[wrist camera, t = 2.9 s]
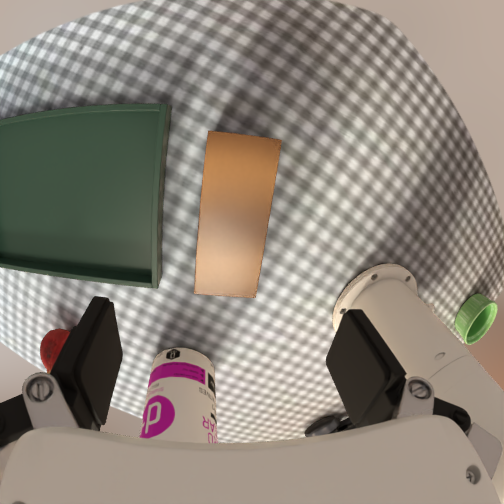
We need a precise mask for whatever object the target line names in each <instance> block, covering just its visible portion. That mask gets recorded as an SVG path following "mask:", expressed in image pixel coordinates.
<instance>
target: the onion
mask: <svg viewBox="0 0 504 504" xmlns="http://www.w3.org/2000/svg"><path fill="white" fill-rule="evenodd" d="M69 334H70V332H69V331H67V330H64V329H55V330H51V331H49V332H48V333H47V334H46V335H45V337H44V338H43V340H42V342H41V346H40V356H41V360H42V362H43V364H44V366H45V368H46V369H47V373H48V374H49V373H50V371H51V369H52V367H53V365H54V363H55V361H56V359H57V357H58V355H59V353H60V351H61V349H62V347H63V345H64V343H65V341H66V339H67V337H68V336H69Z"/></svg>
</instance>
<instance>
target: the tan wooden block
mask: <svg viewBox="0 0 504 504" xmlns="http://www.w3.org/2000/svg"><path fill="white" fill-rule="evenodd" d="M281 142H282V140H279V139H273V138H267V137H260V136H253V135H245V134H237V133H228V132H219V131H208V137H207V145H206V153H205V162H204V171H203V180H202V190H201V201H200V212H199V224H198V237H197V252H196V268H195V287H194V294H202V295H215V296H230V297H246V298H256V293H257V287H258V281H259V275H260V270H261V264H262V258H263V252H264V246H265V240H266V234H267V228H268V223H269V217H270V210H271V204H272V198H273V192H274V186H275V180H276V174H277V168H278V161H279V155H280V149H281Z"/></svg>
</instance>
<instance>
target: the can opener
mask: <svg viewBox="0 0 504 504" xmlns="http://www.w3.org/2000/svg"><path fill="white" fill-rule="evenodd" d="M352 429H356V425H355V424H353V423H352V422H351V420H350V418H349V417H348V418H347V419H345V420H343V421H340V420H339V419H338V418H336V417H335V416H329V417H326V418H323V419H321V420H319V421H317V422H316V423H314V424H312V425H311V426H310V427H309V428H307V429H306V431H305V436H306V437H313V436H319V435H326V434H331V433H337V432H342V431H347V430H352Z"/></svg>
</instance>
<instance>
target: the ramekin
mask: <svg viewBox="0 0 504 504" xmlns="http://www.w3.org/2000/svg"><path fill="white" fill-rule="evenodd" d="M496 314H497V304H496V303H495V302H494V301H491V300H489V299H488V298H487V297H485V296H483V295H482V294H479V293H478V294H474V295H472V296H471V297H470V298H469V299H468V300H467V301H466V302H465V303H464V304H463V305H462V307H461V308H460V310H459V312H458V314H457V317H456V320H455V328H456V330H457V331H458V332H459V333H460V335H461V336H462V337H463V339H464V341H465V343H466V344H468V345H470V344H473V343H475V342H477V341H478V340H479V339H480V338H481V337H483V335H484V334H485V333H486V332H487V331H488V329H489V328H490V326H491V325H492V323H493V321H494V319H495V317H496Z"/></svg>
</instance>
